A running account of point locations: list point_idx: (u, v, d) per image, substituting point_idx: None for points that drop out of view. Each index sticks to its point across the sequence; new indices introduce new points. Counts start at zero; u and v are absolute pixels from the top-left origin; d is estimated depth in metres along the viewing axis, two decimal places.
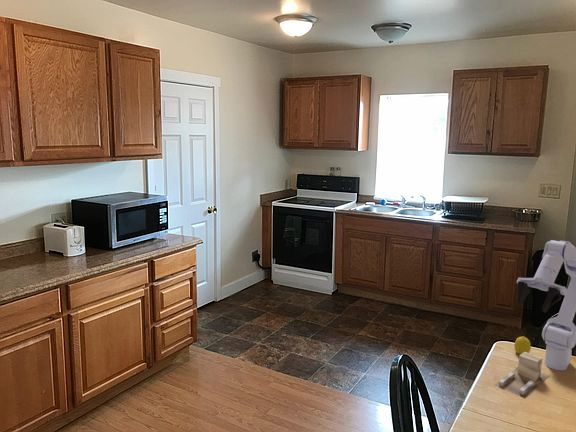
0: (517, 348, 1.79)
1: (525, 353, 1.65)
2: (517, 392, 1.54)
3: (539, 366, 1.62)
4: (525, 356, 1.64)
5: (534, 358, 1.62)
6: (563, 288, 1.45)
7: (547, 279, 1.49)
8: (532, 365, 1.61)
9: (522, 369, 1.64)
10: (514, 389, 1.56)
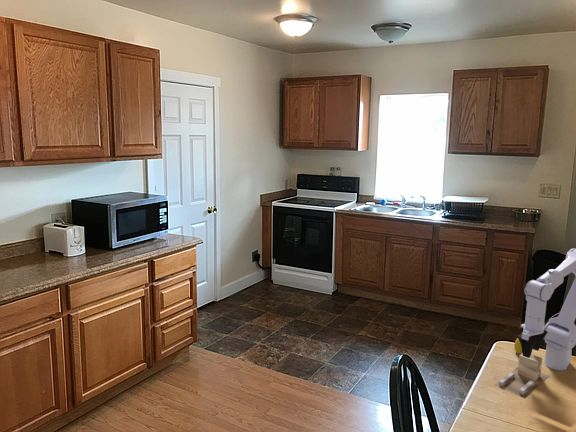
0: (517, 348, 1.79)
1: None
2: (517, 392, 1.54)
3: (539, 366, 1.62)
4: None
5: (534, 358, 1.62)
6: None
7: (525, 325, 1.61)
8: (532, 365, 1.61)
9: (522, 369, 1.64)
10: (514, 389, 1.56)
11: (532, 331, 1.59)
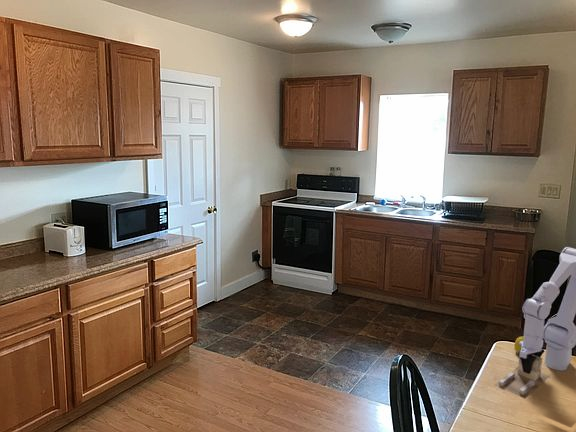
0: (517, 348, 1.79)
1: None
2: (517, 392, 1.54)
3: (539, 366, 1.62)
4: None
5: None
6: None
7: (523, 343, 1.63)
8: None
9: (522, 369, 1.64)
10: (514, 389, 1.56)
11: (530, 349, 1.60)
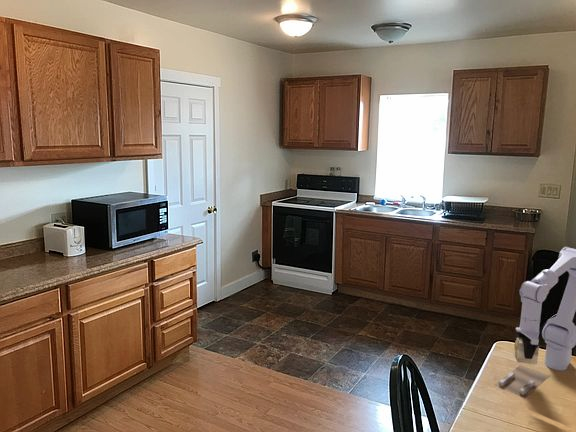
0: None
1: (520, 339, 1.61)
2: (517, 392, 1.54)
3: None
4: None
5: None
6: (531, 340, 1.52)
7: (524, 329, 1.57)
8: None
9: (523, 355, 1.59)
10: (514, 389, 1.56)
11: (533, 333, 1.56)
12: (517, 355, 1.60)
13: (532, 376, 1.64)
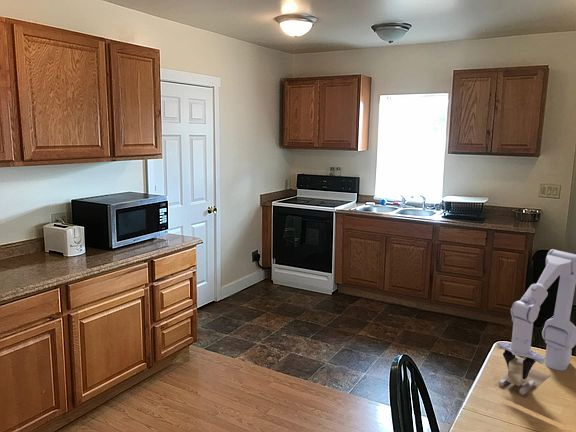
0: None
1: (513, 362, 1.56)
2: (517, 392, 1.54)
3: None
4: (521, 363, 1.55)
5: (522, 360, 1.57)
6: (541, 360, 1.50)
7: (524, 351, 1.53)
8: None
9: (522, 377, 1.55)
10: (514, 389, 1.56)
11: (530, 352, 1.54)
12: (516, 379, 1.55)
13: (532, 376, 1.64)
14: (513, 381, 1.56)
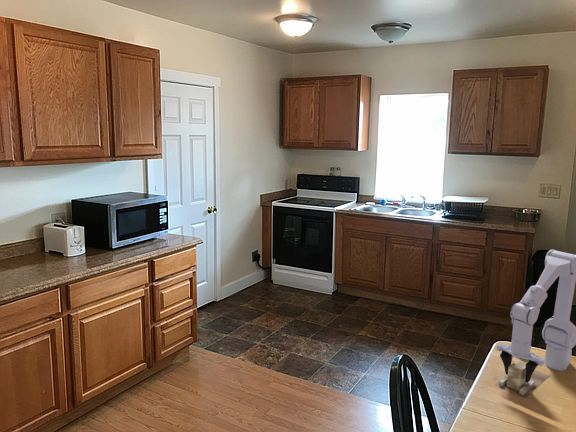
0: None
1: (513, 367, 1.56)
2: (517, 392, 1.54)
3: None
4: (520, 368, 1.55)
5: (521, 365, 1.58)
6: (540, 362, 1.51)
7: (523, 353, 1.53)
8: None
9: (521, 382, 1.56)
10: (514, 389, 1.56)
11: (530, 354, 1.54)
12: (516, 384, 1.56)
13: (532, 376, 1.64)
14: (513, 386, 1.56)
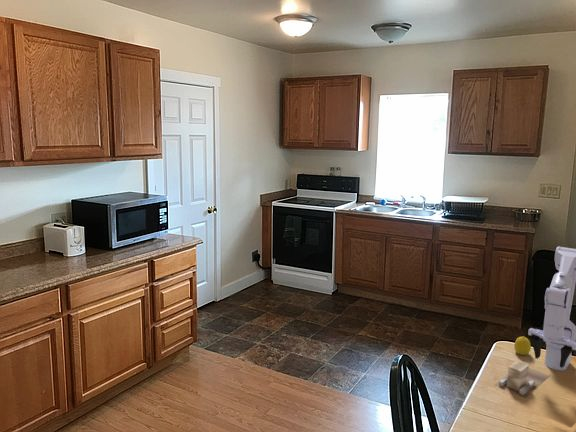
0: (517, 348, 1.79)
1: (513, 367, 1.56)
2: (517, 392, 1.54)
3: None
4: (520, 368, 1.55)
5: (521, 365, 1.58)
6: (574, 346, 1.49)
7: (556, 337, 1.52)
8: (526, 372, 1.57)
9: (521, 382, 1.56)
10: (514, 389, 1.56)
11: (563, 338, 1.53)
12: (516, 384, 1.56)
13: (532, 376, 1.64)
14: (513, 386, 1.56)
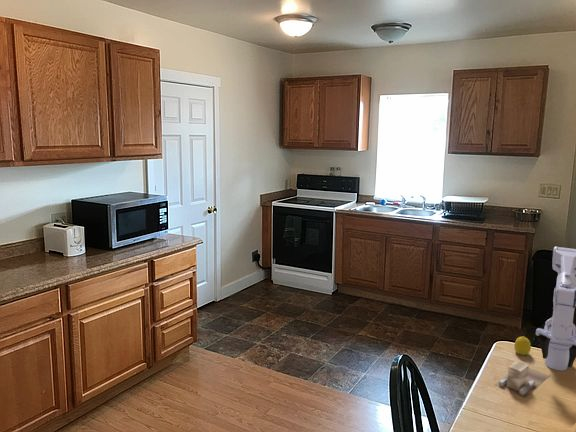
0: (517, 348, 1.79)
1: (513, 367, 1.56)
2: (517, 392, 1.54)
3: None
4: (520, 368, 1.55)
5: (521, 365, 1.58)
6: None
7: (565, 337, 1.52)
8: (526, 372, 1.57)
9: (521, 382, 1.56)
10: (514, 389, 1.56)
11: (571, 338, 1.53)
12: (516, 384, 1.56)
13: (532, 376, 1.64)
14: (513, 386, 1.56)
